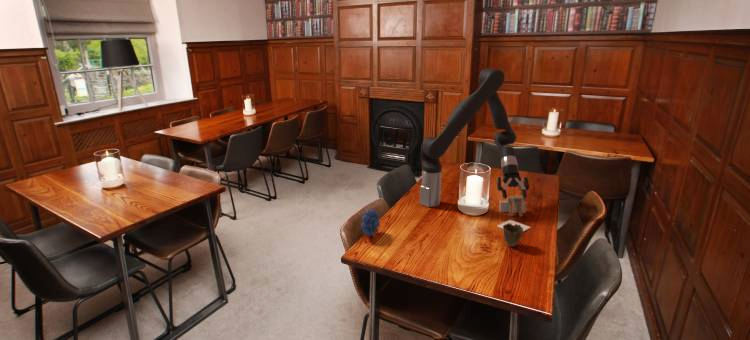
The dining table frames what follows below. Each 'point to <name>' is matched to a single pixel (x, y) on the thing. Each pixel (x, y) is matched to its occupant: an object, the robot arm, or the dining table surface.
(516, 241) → the cup
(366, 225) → the grapes
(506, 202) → the block
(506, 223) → the mat
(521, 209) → the stool
